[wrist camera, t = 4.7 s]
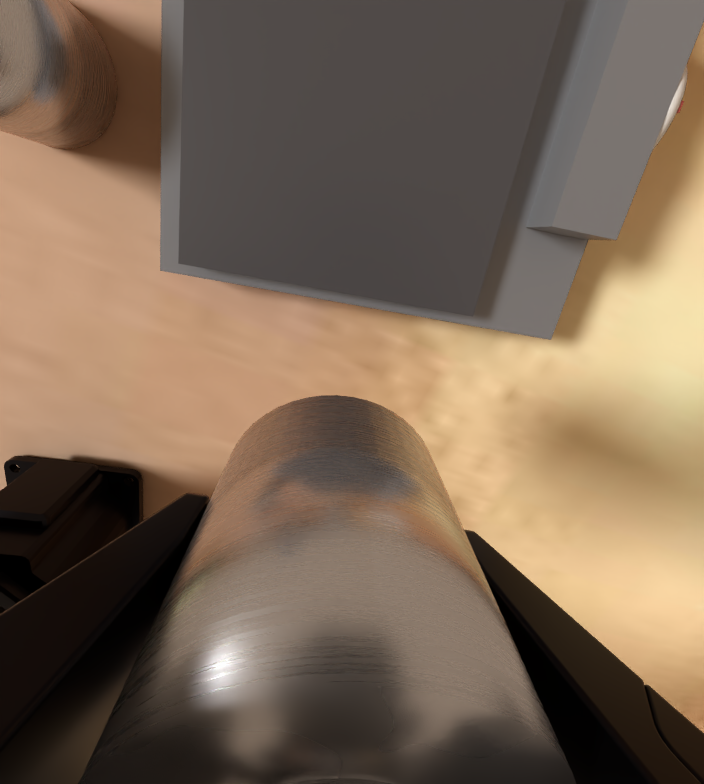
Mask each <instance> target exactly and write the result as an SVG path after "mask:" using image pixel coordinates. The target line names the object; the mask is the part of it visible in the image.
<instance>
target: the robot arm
mask: <svg viewBox="0 0 704 784" xmlns="http://www.w3.org/2000/svg"><path fill="white" fill-rule="evenodd" d="M16 465H18V466H19V467H20V468H18V467H17V466H16ZM4 470H5V476H6V482H7V486H6V487H5V488H4V489H2V490H1V491H0V784H79V781H80V779H81V777H82V775H83V773H84V771H85V769H86V766H87V764H88V762H89V760H90V758H91V756H92V753H93V751H94V749H95V747H96V745H97V743H98V740H99V738H100V736H101V734H102V732H103V730H104V727H105V725H106V723H107V721H108V719H109V717H110V715H111V712H112V710H113V708H114V706H115V704H116V702H117V699H118V697H119V695H120V693H121V691H122V689H123V686H124V684H125V682H126V680H127V678H128V676H129V673H130V671H131V669H132V667H133V665H134V663H135V661H136V658H137V656H138V654H139V652H140V650H141V648H142V645H143V643H144V641H145V639H146V637H147V635H148V632H149V630H150V628H151V626H152V624H153V622H154V619H155V617H156V615H157V613H158V611H159V609H160V607H161V604H162V602H163V600H164V598H165V596H166V594H167V591H168V589H169V587H170V585H171V583H172V581H173V578H174V576H175V574H176V572H177V570H178V568H179V565H180V563H181V561H182V559H183V557H184V555H185V553H186V550H187V548H188V546H189V544H190V542H191V540H192V537H193V535H194V533H195V531H196V529H197V527H198V524H199V522H200V520H201V518H202V516H203V514H204V511H205V509H206V507H207V505H208V503H209V497H208V496H207V495H202V494H195V493H186V494H184V495H183V496H181V497H179V498H178V499H176V500H175V501H173V502H172V503H170V504H169V505H167V506H166V507H164V508H163V509H161V510H159V511H158V512H156V513H155V514H153V515H152V516H150V517H149V518H147V519H146V520H144V521H143V481H142V475H141V474H140V473H139V472H138V471H136V470H133V469H124V468H116V467H108V466H100V465H94V464H88V463H80V462H72V461H64V460H55V459H47V458H43V459H42V458H34V457H25V456H14V457H12V458H11V459H9V460H8V461H6V463H5V464H4ZM128 478H131V479H133V480H134V481H130V480H129V479H128ZM464 531H465V533H466V535H467V537H468V540H469V542H470V544H471V546H472V549H473V551H474V553H475V555H476V558H477V560H478V562H479V564H480V567H481V569H482V571H483V573H484V576H485V578H486V580H487V582H488V585H489V587H490V589H491V591H492V594H493V596H494V598H495V600H496V603H497V605H498V607H499V609H500V612H501V614H502V616H503V618H504V620H505V623H506V625H507V627H508V629H509V632H510V634H511V636H512V638H513V641H514V643H515V645H516V647H517V650H518V652H519V654H520V656H521V659H522V661H523V663H524V665H525V668H526V670H527V672H528V674H529V677H530V679H531V681H532V683H533V686H534V688H535V690H536V692H537V695H538V697H539V699H540V701H541V703H542V706H543V708H544V710H545V712H546V715H547V717H548V719H549V721H550V724H551V726H552V728H553V730H554V733H555V735H556V737H557V739H558V742H559V744H560V746H561V748H562V751H563V753H564V755H565V757H566V760H567V762H568V764H569V766H570V769H571V771H572V773H573V776H574V779H575V781H576V784H704V733H703V732H702V731H700V730H699V729H698V728H697V727H696V726H695V725H693V724H692V723H691V722H690V721H689V720H688V719H687V718H685V717H684V716H683V715H682V714H681V713H680V712H678V711H677V710H676V709H675V708H674V707H673V706H672V705H670V704H669V703H668V702H667V701H666V700H665V699H664V698H663V697H661V696H660V695H659V694H658V693H657V692H656V691H655V690H653V689H652V688H651V687H650V686H649V685H644V682H643V680H642V679H641V678H640V677H639V676H637V675H636V674H635V673H634V672H633V671H632V670H631V669H630V668H628V667H627V666H626V665H625V664H624V663H623V662H622V661H620V660H619V659H618V658H617V657H616V656H615V655H614V654H613V653H611V652H610V651H609V650H608V649H607V648H606V647H605V646H604V645H602V644H601V643H600V642H599V641H598V640H597V639H596V638H594V637H593V636H592V635H591V634H590V633H589V632H588V631H587V630H585V629H584V628H583V627H582V626H581V625H580V624H579V623H577V622H576V621H575V620H574V619H573V618H572V617H571V616H570V615H568V614H567V613H566V612H565V611H564V610H563V609H562V608H560V607H559V606H558V605H557V604H556V603H555V602H554V601H553V600H551V599H550V598H549V597H548V596H547V595H546V594H545V593H543V592H542V591H541V590H540V589H539V588H538V587H537V586H536V585H534V584H533V583H532V582H531V581H530V580H529V579H528V578H527V577H525V576H524V575H523V574H522V573H521V572H520V571H519V570H517V569H516V568H515V567H514V566H513V565H512V564H511V563H510V562H508V561H507V560H506V559H505V558H504V557H503V556H502V555H500V554H499V553H498V552H497V551H496V550H495V549H494V548H493V547H491V546H490V545H489V544H488V543H487V542H486V541H485V540H483V539H482V538H481V537H480V536H479V535H478V534H477V533H475V532H474V531H470V530H464Z"/></svg>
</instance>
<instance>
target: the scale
mask: <svg viewBox="0 0 704 784" xmlns="http://www.w3.org/2000/svg"><path fill="white" fill-rule="evenodd" d="M703 22H704V0H162V50H161V239H160V271H165V272H171V273H177V274H182V275H188V276H194V277H199V278H205V279H211V280H216V281H222V282H228V283H233V284H239V285H244V286H250V287H256V288H261V289H267V290H273V291H278V292H284V293H290V294H295V295H301V296H307V297H312V298H318V299H323V300H329V301H335V302H340V303H346V304H352V305H357V306H363V307H369V308H374V309H380V310H386V311H391V312H397V313H402V314H408V315H414V316H419V317H425V318H431V319H436V320H442V321H448V322H453V323H459V324H465V325H470V326H476V327H481V328H487V329H493V330H498V331H504V332H510V333H515V334H521V335H527V336H532V337H538V338H543V339H549V340H551V338H552V335H553V333H554V330H555V327H556V325H557V322H558V319H559V317H560V314H561V311H562V309H563V306H564V303H565V301H566V298H567V295H568V293H569V290H570V287H571V285H572V282H573V279H574V277H575V274H576V271H577V269H578V266H579V263H580V261H581V258H582V255H583V253H584V250H585V247H586V245H587V242H588V240H617V237H618V235H619V232H620V230H621V227H622V225H623V222H624V220H625V217H626V215H627V212H628V210H629V207H630V205H631V202H632V200H633V197H634V195H635V192H636V190H637V187H638V185H639V182H640V180H641V177H642V175H643V172H644V170H645V167H646V165H647V162H648V160H649V157H650V155H651V152H652V150H653V149H654V148H655V147H656V145H657V144H658V143H659V141H660V140H661V138H662V137H663V135H664V134H665V132H666V131H667V129H668V128H669V126H670V124H671V122H672V120H673V119H674V117H675V115H676V114H677V113H679V112H680V110H681V107H682V105H683V102H684V101H682V98H683V95H684V91H685V88H686V83H687V74H688V72H687V62H688V59H689V57H690V54H691V52H692V49H693V47H694V44H695V42H696V39H697V37H698V34H699V32H700V29H701V27H702V24H703Z"/></svg>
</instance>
